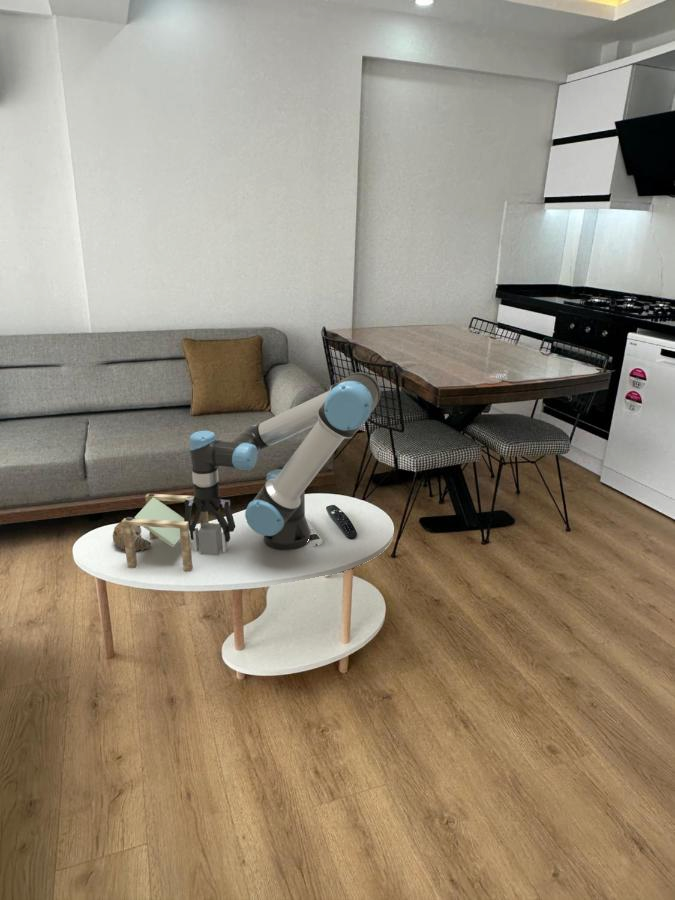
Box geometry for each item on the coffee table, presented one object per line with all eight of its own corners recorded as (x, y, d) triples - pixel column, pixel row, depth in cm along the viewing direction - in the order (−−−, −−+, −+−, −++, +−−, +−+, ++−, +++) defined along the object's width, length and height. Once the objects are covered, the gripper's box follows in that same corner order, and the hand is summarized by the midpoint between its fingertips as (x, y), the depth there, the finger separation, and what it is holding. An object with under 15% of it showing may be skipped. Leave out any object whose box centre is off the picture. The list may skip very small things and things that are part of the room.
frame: (209, 539, 194) (206, 494, 188) (190, 571, 176) (185, 523, 170) (152, 536, 195) (147, 492, 190) (127, 567, 178) (121, 519, 172)
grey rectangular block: (222, 546, 190) (221, 523, 187) (217, 555, 185) (215, 532, 182) (205, 545, 190) (203, 522, 187) (200, 554, 185) (198, 531, 182)
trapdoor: (184, 530, 191) (190, 522, 189) (168, 553, 178) (174, 545, 176) (147, 504, 189) (153, 496, 187) (128, 525, 176) (134, 517, 174)
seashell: (125, 545, 198) (108, 521, 194) (153, 530, 199) (136, 506, 195) (123, 565, 186) (105, 540, 182) (152, 549, 187) (135, 524, 183)
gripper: (243, 479, 182) (247, 545, 190) (175, 476, 184) (182, 541, 192) (237, 489, 175) (241, 557, 183) (166, 486, 177) (174, 553, 185)
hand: (211, 549), depth 187 cm, fingers open, 8 cm apart
